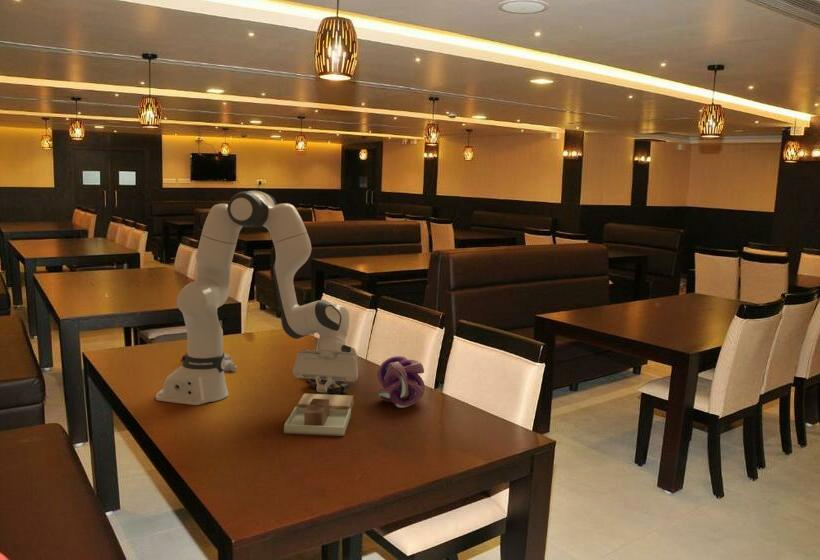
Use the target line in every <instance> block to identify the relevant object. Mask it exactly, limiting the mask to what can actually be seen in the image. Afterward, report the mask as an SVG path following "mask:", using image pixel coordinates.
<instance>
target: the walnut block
mask: <svg viewBox="0 0 820 560" xmlns="http://www.w3.org/2000/svg"><path fill="white" fill-rule="evenodd" d="M328 416H329V399H314V398H313V399H312V401H311V403H310V404H309V406H308V407H307V409H306V411H305V412H304V425H313V426H324V424H325V422H326V420H327V418H328Z"/></svg>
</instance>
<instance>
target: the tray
mask: <svg viewBox="0 0 820 560" xmlns="http://www.w3.org/2000/svg"><path fill="white" fill-rule="evenodd" d="M306 409H307V408H300V407H298V405H297V406H294V408H293V410H292V411H291V413H290V415H289V416H288V418H287V419H286V421H285V423H284V425H283V434H292V435H295V434H296V435H311V436H312V435H313V436H333V437H335V436H338V437H344V436H345V435H346V434H345V433H346V431H347V427H348V425H349V423H350V420H351V415H352V410H351V409H349V410H344V409H329V416H328V418H327V420H326V422H325V424H324V426H313V425H304V412H305V411H306Z"/></svg>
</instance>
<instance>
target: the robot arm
mask: <svg viewBox="0 0 820 560" xmlns="http://www.w3.org/2000/svg"><path fill="white" fill-rule="evenodd" d="M243 227H245V228H251V227H254V228H255V227H256V228H257V227H264V228H265V229H266V230H267V231H268V233H269V235H270V237H271V240H272V242H273V246H274V249H275V250H274V251H275V261H274V263H273V267H272V271H273V278H274V284H275V289H276V293H277V297H278V304H279V308H280V313H281V314H280V317H281V319H280V320H281V327H282V330H283V331H284V332H285V334H286V335H288V337H290V338H292V339H295V340H297V339H301V338H304V337H306V336H308V335H313V334H318V335H319V337H318V339H317V342H316V343H317V344H316V349H315V350H314V349H313V350H307V349H302V350H300V351H298V352H297V353H296V356H295V361H294V364H293V367H292V373H293V375H294V377H295V378H298V379H307V378H308V379H315V380H316V383H317V388H316V389H315V391H316V390H317V391H316V392H317V393H318V392H327V388H328V387H329V386H330V385H331V384H332V381H333V380H336V381H346V382H350V383H351V382H352V383H355V382H356V381H357V380H358V377H359V365H358V354H357V350H356V348H354V346H351V345H347V344H346V339H347V337H348V334H349V328H350V313H349V310H348V309H347V308H346V307H345V306H344V305H341V304H337V303H335V304H334V303H333V304H332V303H330V302H329V301H327V300H325V299H319V300H316V301H313V302H309V303H305V304H303V305H300V304H298V303H299V302H298V300H297V296H296V295H297V294H296V290H295V285H294V279H295V278H294V277H295V275H296V274H297V272H298V270H299V269H300V268H301V267H302V266H303V265H304V264H306V262H307V261H308V260H309V258H310V256H311V253H312V243H311V239H310V236H309V234H308V231H307V228H306V226H305V224H304V221H303V219H302V217H301V215H300V213H299V212H298V210H297V208H296V207H295V206H294V205H293V204H291V203H287V202H285V203H277V201H276V200H275V198H274V197H273V196H272V195H271V194H269V193H267V192H265V191H260V190H248V191H247V190H246V191H240V192H238V193H235V194H234V195H233V196H232V197H231V198H230V199H229V201H228V203H218V204H214V205H213V206H211V208H210V210H209V212H208V214H207V217H206V218H205V221H204V224H203V227H202V231H201V233H200V234H201V235H200V239H199V243H198V246H197V251H196V255H195V260H196V277H195V279H194V281H192V282H189V283H187V284H186V285H184V287H182V289H181V290H180V291H179V292H178V294H177V297H176V305H177V307H178V310H179V311H180V312H181V313H182V317H183V320H184V324H185V329H186V340H187V341H186V342H187V343H186V345H187V350H186V351H187V352H185V353H184V355H182V356H181V357H180V358H179V360H180V361H179V363H182V365H180V366H179V367H178V368H176V369H175V370H173V372H171V373H170V374H169V375H167V377H166V378H165V381H164V383H163V388H162V389H160V390H159V391H158V392H157V393H156V395H155V400H156V401H158V402H159V401H160V402H165V403H166V402H168V403H174V404H182V405H184V404H185V405H189V406H199V405H203V404H206V403H210V402H218V401H220V400H223V399H225V398H227V397H228V396H229V390H228V387H227V384H226V377H225V371H224V369H225V357H224V353H225V352H224V331H223V328H222V327H221V324H220V321H219V316H218V308H220V307H222V306H223V305H224V304H225V303H226V302H227V300H228V299H229V295H230V294H231V293H230V291H231V290H230V277H231V269H232V262H233V260H234V259H233V258H234V254H235V252H236V251H235V250H236V247H237V243H238V239H239V236H240V235H239V234H240V233H241V230H242V229H243ZM308 379H307V380H308ZM321 379H322V380H327V382H326V383H325V385H321V384H319V382H321Z"/></svg>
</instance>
